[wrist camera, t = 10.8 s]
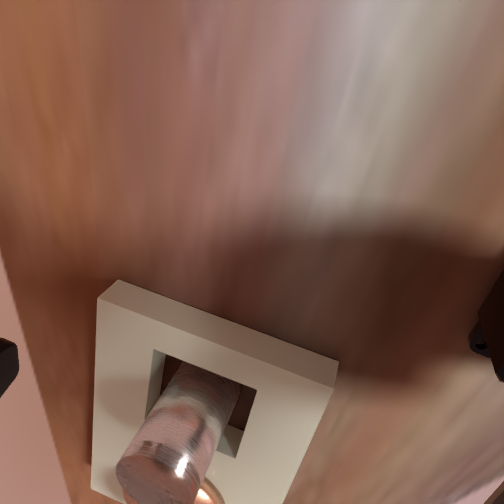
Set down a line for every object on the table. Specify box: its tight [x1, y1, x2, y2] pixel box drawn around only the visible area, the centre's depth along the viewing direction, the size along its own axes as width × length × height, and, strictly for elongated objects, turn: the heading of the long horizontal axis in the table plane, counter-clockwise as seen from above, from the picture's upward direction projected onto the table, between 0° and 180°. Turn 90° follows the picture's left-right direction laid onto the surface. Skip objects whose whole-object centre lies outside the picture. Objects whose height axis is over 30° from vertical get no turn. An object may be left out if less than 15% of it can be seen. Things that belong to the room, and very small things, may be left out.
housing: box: [91, 279, 339, 504], centre depth 27 cm, size 13×18×2 cm
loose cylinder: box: [116, 361, 241, 504], centre depth 23 cm, size 4×4×7 cm
